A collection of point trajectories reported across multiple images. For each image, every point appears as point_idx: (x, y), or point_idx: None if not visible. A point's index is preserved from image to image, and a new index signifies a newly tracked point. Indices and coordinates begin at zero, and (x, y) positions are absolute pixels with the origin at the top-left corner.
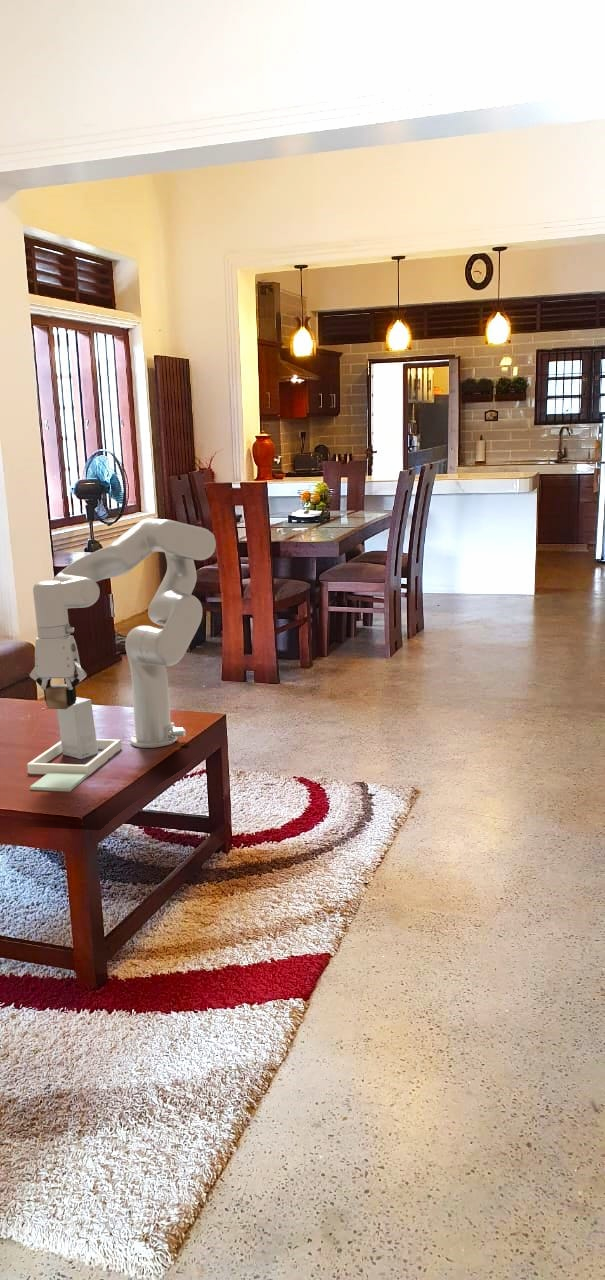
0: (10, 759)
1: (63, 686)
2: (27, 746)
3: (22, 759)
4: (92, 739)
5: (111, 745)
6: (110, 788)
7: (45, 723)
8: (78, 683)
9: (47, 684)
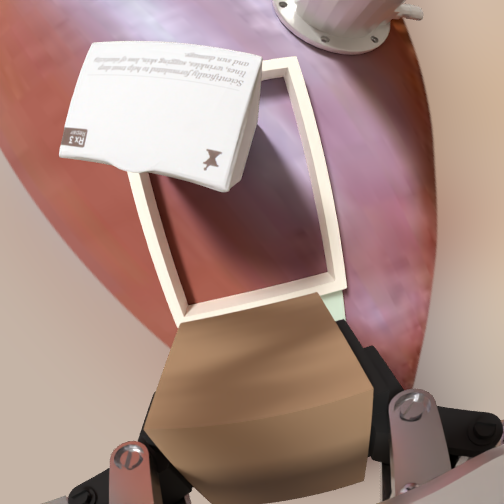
0: (69, 247)
1: (315, 460)
2: (42, 156)
3: (91, 237)
4: (254, 127)
5: (305, 108)
6: (412, 315)
7: (12, 40)
8: (460, 419)
9: (165, 491)
